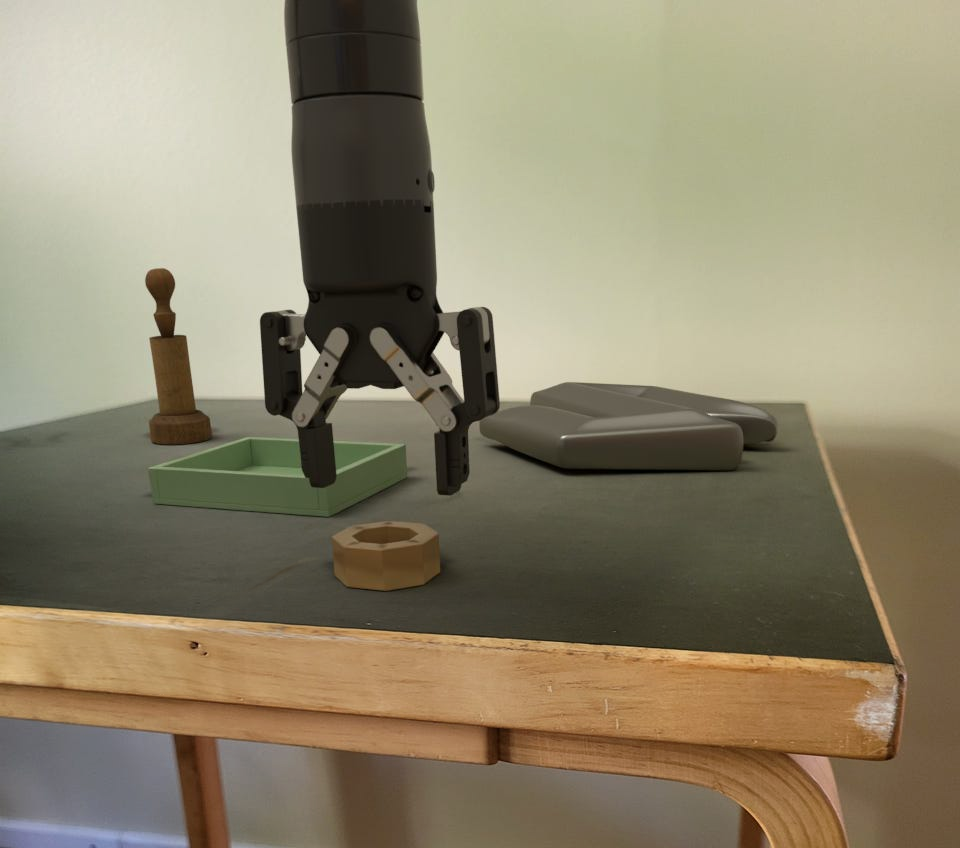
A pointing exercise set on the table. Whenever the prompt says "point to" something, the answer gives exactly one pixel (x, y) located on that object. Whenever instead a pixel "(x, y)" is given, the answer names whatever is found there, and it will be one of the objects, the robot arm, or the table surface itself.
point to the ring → (386, 555)
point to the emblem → (630, 428)
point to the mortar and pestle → (172, 373)
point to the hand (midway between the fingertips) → (385, 489)
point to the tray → (275, 477)
